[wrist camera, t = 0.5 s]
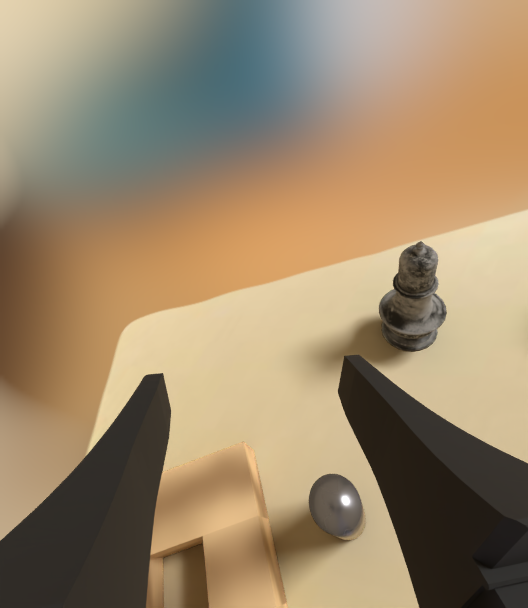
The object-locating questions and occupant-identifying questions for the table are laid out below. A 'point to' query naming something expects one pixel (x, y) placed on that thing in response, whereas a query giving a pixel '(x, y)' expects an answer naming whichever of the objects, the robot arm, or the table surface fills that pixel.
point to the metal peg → (337, 507)
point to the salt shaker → (413, 301)
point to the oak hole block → (218, 530)
